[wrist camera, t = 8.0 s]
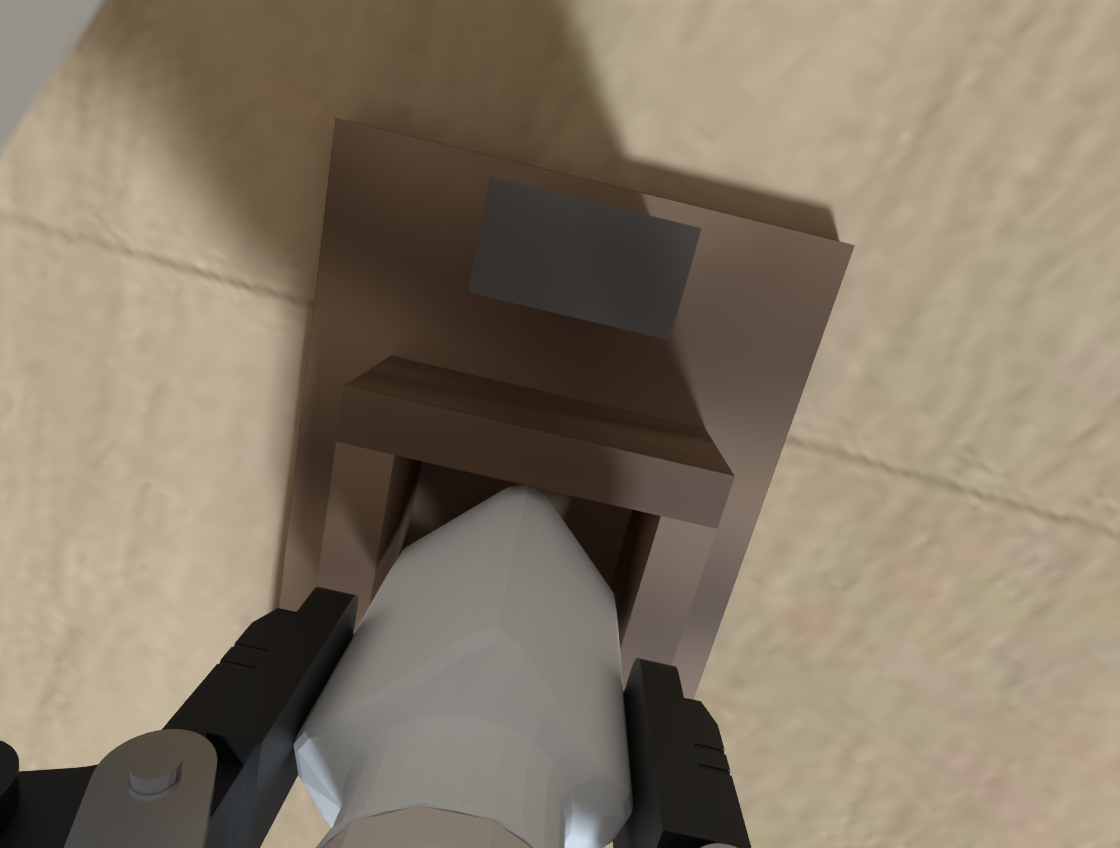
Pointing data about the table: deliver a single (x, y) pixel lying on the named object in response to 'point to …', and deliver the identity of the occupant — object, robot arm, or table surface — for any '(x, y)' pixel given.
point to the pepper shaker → (477, 695)
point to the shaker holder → (548, 376)
